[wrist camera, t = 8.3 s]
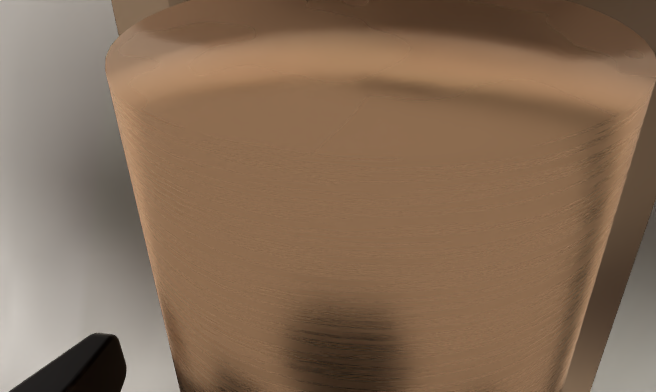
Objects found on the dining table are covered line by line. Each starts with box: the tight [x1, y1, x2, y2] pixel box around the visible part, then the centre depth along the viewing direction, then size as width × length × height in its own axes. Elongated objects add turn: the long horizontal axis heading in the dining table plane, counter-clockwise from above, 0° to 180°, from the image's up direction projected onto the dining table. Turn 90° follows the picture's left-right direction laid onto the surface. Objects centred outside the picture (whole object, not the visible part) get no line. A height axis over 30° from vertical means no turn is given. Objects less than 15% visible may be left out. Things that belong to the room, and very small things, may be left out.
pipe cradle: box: [111, 0, 656, 392], centre depth 12 cm, size 14×10×3 cm
